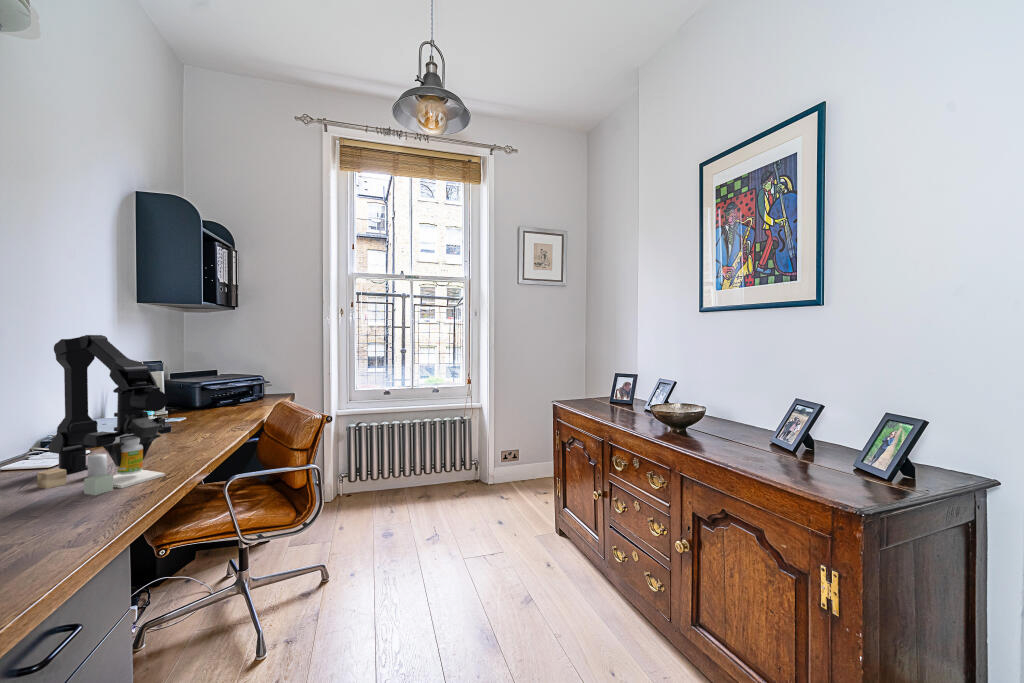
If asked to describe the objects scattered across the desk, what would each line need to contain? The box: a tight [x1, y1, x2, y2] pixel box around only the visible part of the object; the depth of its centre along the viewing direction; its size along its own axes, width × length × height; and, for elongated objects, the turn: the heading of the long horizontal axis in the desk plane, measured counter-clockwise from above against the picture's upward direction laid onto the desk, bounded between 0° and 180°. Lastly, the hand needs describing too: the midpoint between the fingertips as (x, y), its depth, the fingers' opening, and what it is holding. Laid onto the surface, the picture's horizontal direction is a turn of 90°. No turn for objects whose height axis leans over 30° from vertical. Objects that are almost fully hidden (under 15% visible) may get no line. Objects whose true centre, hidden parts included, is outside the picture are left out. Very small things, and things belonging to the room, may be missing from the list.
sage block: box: [83, 473, 114, 496], centre depth 111 cm, size 4×4×4 cm
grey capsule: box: [87, 453, 108, 478], centre depth 123 cm, size 4×4×6 cm
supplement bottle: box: [116, 436, 144, 475], centre depth 121 cm, size 5×5×10 cm
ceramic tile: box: [113, 469, 166, 489], centre depth 121 cm, size 11×11×1 cm
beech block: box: [36, 467, 67, 490], centre depth 115 cm, size 4×4×4 cm
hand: (130, 463), depth 121 cm, fingers closed on supplement bottle, 5 cm apart
